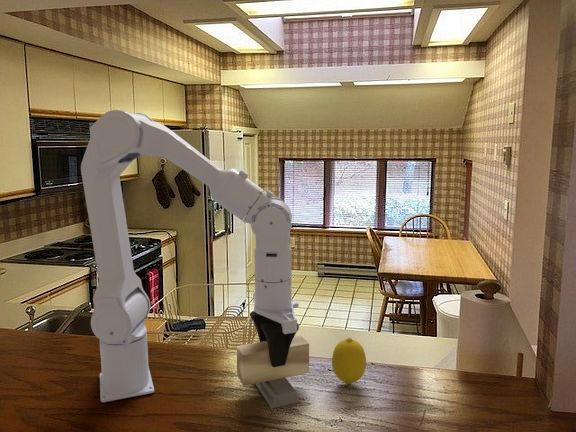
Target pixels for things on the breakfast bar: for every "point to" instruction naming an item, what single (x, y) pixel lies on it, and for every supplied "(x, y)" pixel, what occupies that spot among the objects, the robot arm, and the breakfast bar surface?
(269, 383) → the stepped block
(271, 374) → the bar
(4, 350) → the breakfast bar surface
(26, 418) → the breakfast bar surface
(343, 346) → the lemon
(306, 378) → the breakfast bar surface
